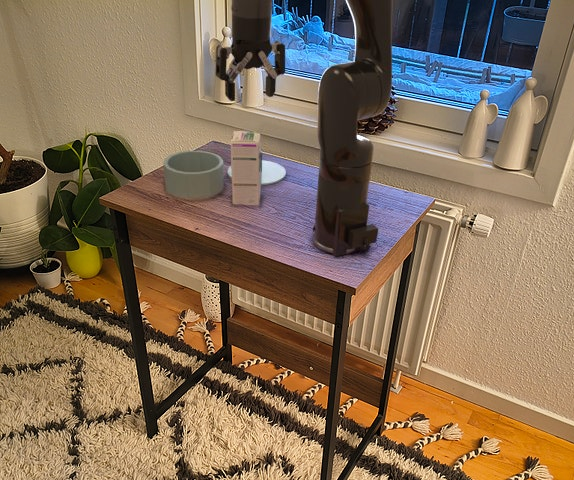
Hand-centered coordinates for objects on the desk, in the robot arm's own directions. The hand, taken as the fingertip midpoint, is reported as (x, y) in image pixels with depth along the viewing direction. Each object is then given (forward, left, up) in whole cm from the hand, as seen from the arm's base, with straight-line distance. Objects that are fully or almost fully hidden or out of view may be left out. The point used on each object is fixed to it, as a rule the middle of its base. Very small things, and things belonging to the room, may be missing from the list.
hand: (250, 97), depth 119 cm
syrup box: (-6, +4, -20) cm, 21 cm away
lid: (+5, -4, -19) cm, 20 cm away
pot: (+4, +12, -20) cm, 23 cm away
